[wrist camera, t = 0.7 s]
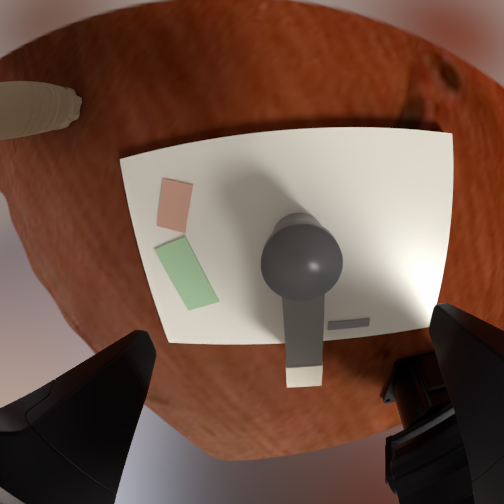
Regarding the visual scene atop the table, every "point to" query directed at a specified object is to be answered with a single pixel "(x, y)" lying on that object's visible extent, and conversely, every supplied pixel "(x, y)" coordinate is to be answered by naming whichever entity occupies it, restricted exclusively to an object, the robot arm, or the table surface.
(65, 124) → the handle
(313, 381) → the grey round-headed bar
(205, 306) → the board
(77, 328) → the table surface
